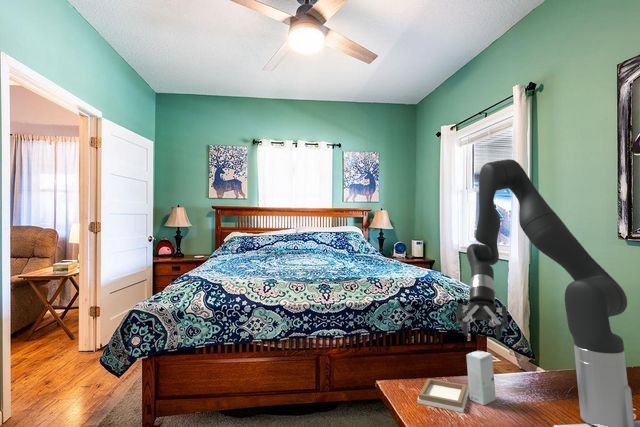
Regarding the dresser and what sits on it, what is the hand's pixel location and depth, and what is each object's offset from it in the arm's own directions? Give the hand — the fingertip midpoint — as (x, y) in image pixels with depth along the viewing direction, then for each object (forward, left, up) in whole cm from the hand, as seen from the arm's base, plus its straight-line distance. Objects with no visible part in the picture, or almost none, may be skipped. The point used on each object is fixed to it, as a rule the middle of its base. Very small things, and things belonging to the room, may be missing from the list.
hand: (481, 336), depth 100 cm
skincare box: (0, +9, -14) cm, 17 cm away
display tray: (+9, +13, -14) cm, 21 cm away
